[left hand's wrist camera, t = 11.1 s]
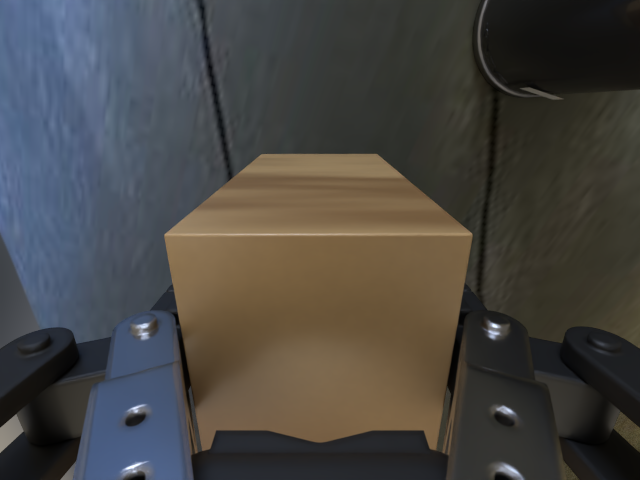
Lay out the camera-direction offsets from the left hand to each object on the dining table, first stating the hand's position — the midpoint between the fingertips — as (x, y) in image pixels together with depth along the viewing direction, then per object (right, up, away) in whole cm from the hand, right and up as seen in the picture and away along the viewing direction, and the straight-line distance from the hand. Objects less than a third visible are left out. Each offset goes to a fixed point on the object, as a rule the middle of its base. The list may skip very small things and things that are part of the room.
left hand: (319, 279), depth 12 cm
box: (0, -6, +10) cm, 11 cm away
